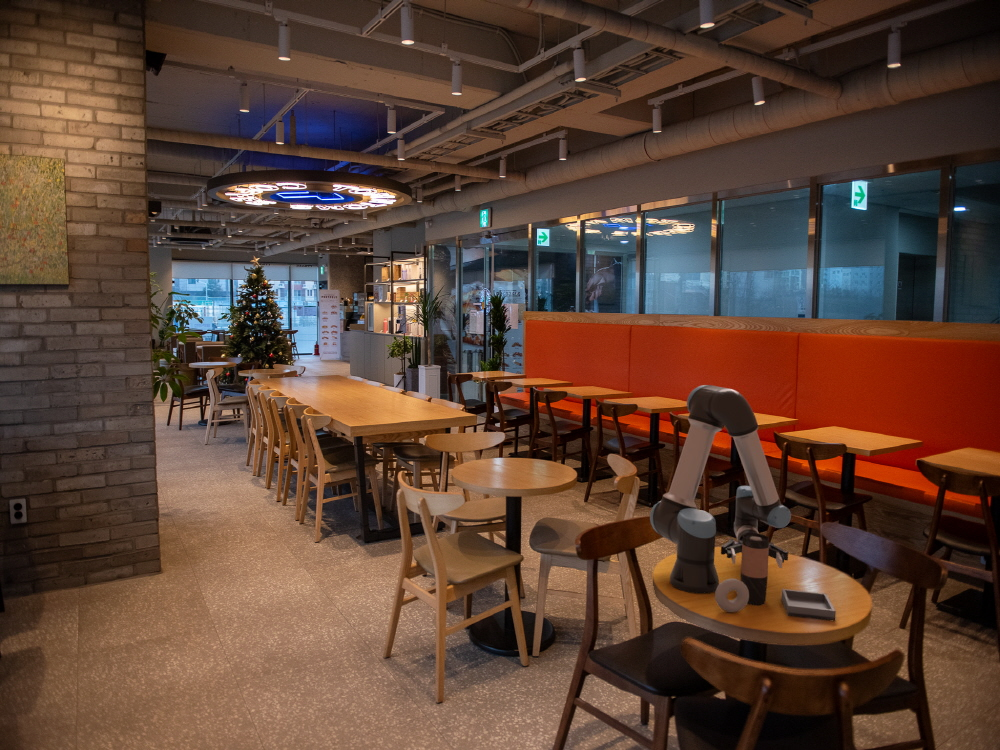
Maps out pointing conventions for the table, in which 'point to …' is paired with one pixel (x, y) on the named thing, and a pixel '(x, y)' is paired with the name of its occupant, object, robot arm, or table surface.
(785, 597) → the tray
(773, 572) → the table surface
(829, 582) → the table surface
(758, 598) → the travel mug
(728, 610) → the donut
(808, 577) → the table surface
